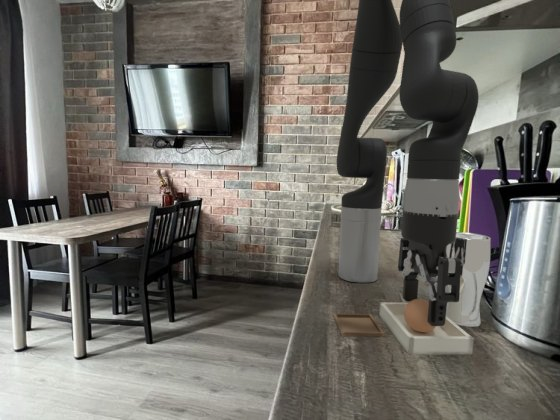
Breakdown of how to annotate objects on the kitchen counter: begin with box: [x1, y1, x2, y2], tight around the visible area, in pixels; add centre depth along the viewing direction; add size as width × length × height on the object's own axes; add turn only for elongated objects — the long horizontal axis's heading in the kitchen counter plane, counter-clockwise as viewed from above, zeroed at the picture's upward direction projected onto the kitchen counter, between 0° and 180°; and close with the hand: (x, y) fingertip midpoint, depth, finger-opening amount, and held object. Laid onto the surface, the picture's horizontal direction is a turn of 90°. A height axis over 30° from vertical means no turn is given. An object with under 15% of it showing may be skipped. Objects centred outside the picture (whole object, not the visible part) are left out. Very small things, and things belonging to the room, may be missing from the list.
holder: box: [332, 313, 386, 338], centre depth 51 cm, size 7×7×1 cm
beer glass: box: [446, 231, 492, 328], centre depth 54 cm, size 7×7×15 cm
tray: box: [378, 301, 475, 356], centre depth 49 cm, size 12×9×3 cm
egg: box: [404, 298, 436, 332], centre depth 49 cm, size 5×5×5 cm
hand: (421, 311), depth 49 cm, fingers open, 8 cm apart
